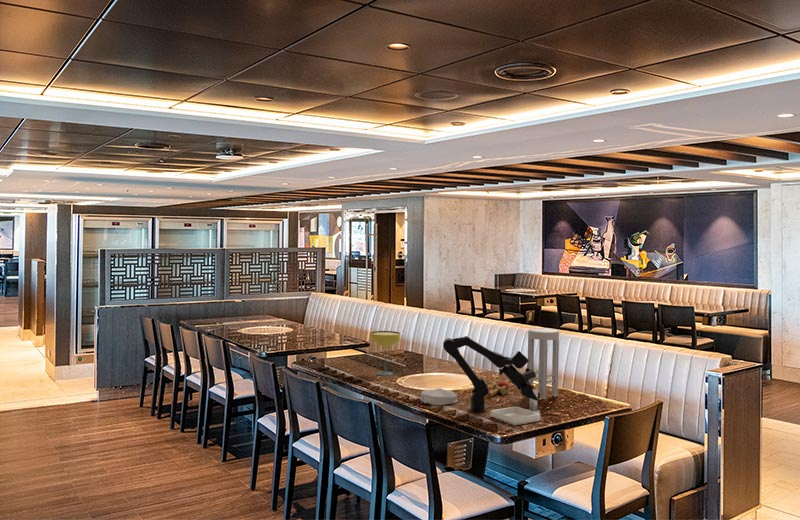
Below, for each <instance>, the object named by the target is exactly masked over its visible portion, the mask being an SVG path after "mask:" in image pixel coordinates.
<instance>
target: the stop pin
mask: <svg viewBox="0 0 800 520" xmlns="http://www.w3.org/2000/svg"><path fill="white" fill-rule="evenodd" d="M531 385H532V386H533V387H534V388H533V392H534V394H535V395H536V397H537V398H538V397H539V395H538V394H539V393H538V386H539V383H533V384H531ZM538 400H539V398H538ZM538 400H537V401H536V400H533V399H531V398H529V409H527V410H530V411H533V412H536V413H539V414H541V411H540V410H539V409H538Z"/></svg>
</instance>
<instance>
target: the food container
mask: <svg viewBox="0 0 800 520" xmlns="http://www.w3.org/2000/svg"><path fill="white" fill-rule="evenodd" d="M420 392H421V397H420V399H419V400H420V402H422V403H423V402H424V404H429V405H432V406H433V405H434V406H443V405H450V404H451V405H452V404H455V403H458V395H457V394H456V393H455V392H454V391H450V390H447V389H444V388H441V387H438V388H434V389H425V390H423V391H420Z"/></svg>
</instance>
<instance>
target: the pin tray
mask: <svg viewBox="0 0 800 520" xmlns="http://www.w3.org/2000/svg"><path fill="white" fill-rule="evenodd" d="M541 415H542V414H541V413H540V414H539V413H536V412H533V411H530V410H528V409H527V408H524V407H520V406H511V407H509V406H508V407H505V408H498V409H492V410H491V409H490V418H492V417H494V418H493V419H495V418H496V420H498V419H499V420H498V421H501V422H503V421H504V423H506V424H509V425H511V424H512V426H518V425H519V426H520V425H523V424H524V425H525V424H529V423H534V422H540V421H541V417H542V416H541Z"/></svg>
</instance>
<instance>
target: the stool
mask: <svg viewBox="0 0 800 520" xmlns="http://www.w3.org/2000/svg"><path fill="white" fill-rule="evenodd" d="M535 340H538V341H539V343H538V345H539V347H538V348H539V349H538V350H539V352H538V370H536V371H535V369H534V368H535V367H534V364H535V363H534V361H535V360H534V359H535ZM549 341H552V357H551V359H552V360H551V362H552V363H551V373H548V342H549ZM559 347H560V331H559V330H558V329H553V328H530V329H528V332H527V359H528V360H529V362H528V363H527V367H526V368H529V369H530V370H531V369H533V370H534V372H535V374H536V375H537V374H538V376H536V377H535V378H532V379H529V381H528V382H530V384H534V381H536V380H538V394H540V395H539V399H540V398H541V399H540V400H543V399H544V400H547V389H548V387H547V386H548V385H547V384H549V383H551V397H552V396H554V397H553V398H557V397H556V396H558V395H559V359H560V358H559V355H560V354H559V351H560V348H559ZM549 377H551V379H547V378H549ZM528 382H527V383H528ZM558 397H559V396H558Z"/></svg>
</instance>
